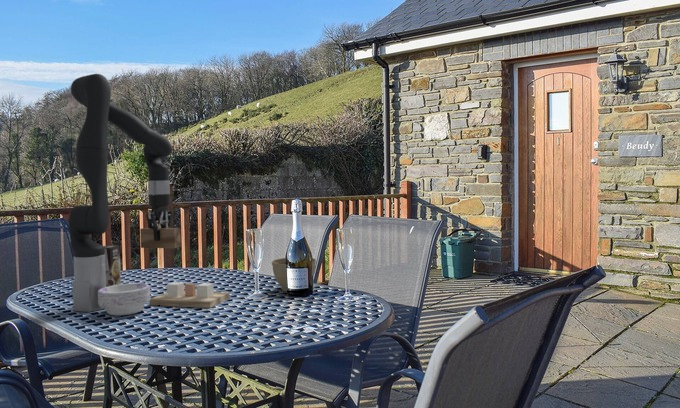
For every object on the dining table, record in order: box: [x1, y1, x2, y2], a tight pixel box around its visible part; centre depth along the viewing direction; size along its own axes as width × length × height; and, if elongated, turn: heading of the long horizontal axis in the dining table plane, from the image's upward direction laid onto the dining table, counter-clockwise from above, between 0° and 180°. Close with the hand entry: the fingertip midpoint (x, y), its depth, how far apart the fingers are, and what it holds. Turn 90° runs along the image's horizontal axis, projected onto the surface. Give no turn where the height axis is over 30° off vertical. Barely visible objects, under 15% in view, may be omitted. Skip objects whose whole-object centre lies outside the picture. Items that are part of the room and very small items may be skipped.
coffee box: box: [103, 244, 122, 287], centre depth 211 cm, size 9×6×16 cm
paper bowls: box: [98, 282, 151, 316], centre depth 174 cm, size 15×15×8 cm
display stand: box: [149, 281, 231, 309], centre depth 187 cm, size 14×22×6 cm, turn 75°
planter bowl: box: [271, 257, 317, 292], centre depth 203 cm, size 16×16×11 cm
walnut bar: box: [139, 227, 182, 249], centre depth 204 cm, size 4×14×7 cm, turn 75°
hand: (160, 239), depth 204 cm, fingers closed on walnut bar, 4 cm apart
